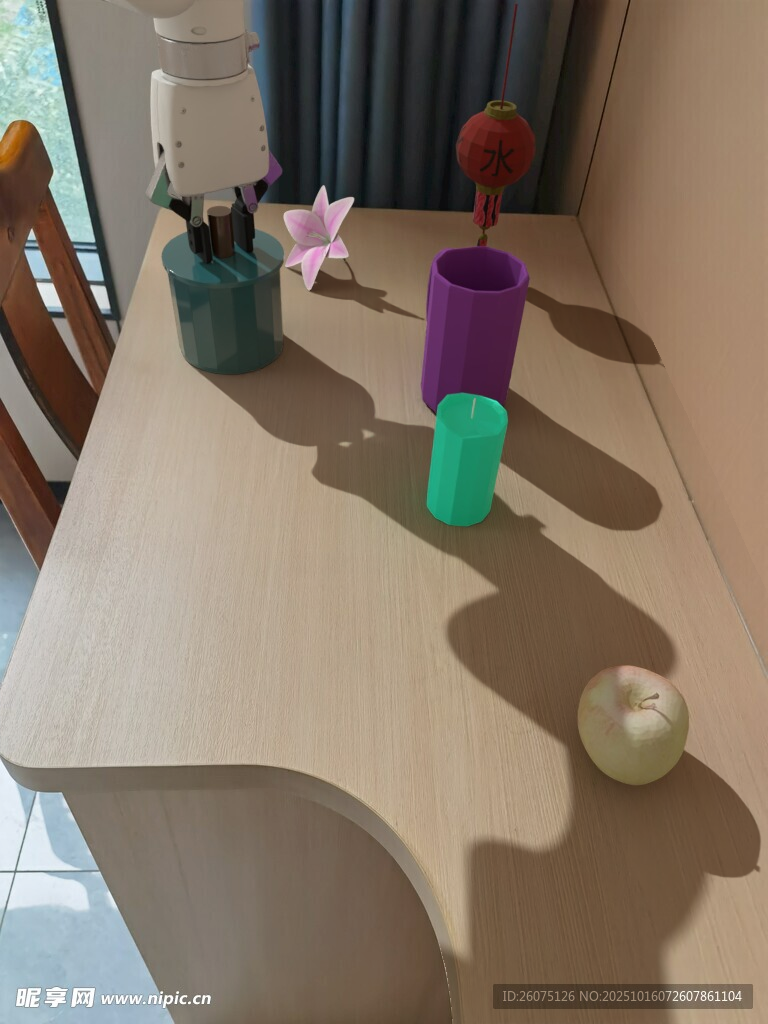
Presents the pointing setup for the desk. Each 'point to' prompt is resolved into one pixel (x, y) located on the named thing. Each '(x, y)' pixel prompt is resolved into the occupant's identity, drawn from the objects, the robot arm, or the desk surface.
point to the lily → (316, 234)
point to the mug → (472, 323)
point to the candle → (465, 458)
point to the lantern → (494, 153)
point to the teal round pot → (229, 325)
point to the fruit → (633, 724)
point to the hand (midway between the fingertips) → (223, 250)
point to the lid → (223, 256)
